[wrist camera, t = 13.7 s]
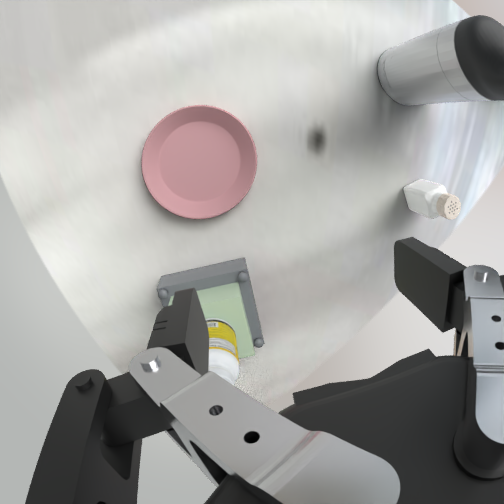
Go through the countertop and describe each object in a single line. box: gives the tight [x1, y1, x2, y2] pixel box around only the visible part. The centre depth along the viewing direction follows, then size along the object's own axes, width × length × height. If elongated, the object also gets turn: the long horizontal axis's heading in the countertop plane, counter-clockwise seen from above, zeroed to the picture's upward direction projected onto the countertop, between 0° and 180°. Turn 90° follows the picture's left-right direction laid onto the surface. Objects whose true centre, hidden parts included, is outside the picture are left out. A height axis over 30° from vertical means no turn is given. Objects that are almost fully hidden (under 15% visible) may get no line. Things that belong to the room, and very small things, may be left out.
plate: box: [142, 105, 257, 219], centre depth 38 cm, size 14×14×2 cm
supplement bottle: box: [205, 318, 240, 386], centre depth 33 cm, size 5×5×10 cm
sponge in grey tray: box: [157, 258, 264, 359], centre depth 42 cm, size 12×12×8 cm
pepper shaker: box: [404, 179, 461, 220], centre depth 38 cm, size 4×4×10 cm
